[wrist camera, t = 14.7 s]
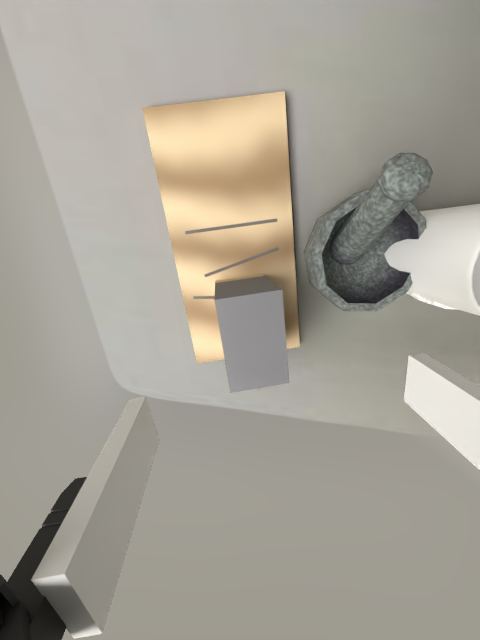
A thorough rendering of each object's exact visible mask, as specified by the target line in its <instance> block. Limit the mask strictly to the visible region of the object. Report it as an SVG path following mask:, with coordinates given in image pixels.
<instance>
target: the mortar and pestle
mask: <svg viewBox="0 0 480 640" xmlns="http://www.w3.org/2000/svg"><path fill="white" fill-rule="evenodd" d="M432 173H433V171H432V169H431V167H430V165H429V163H428V161H427V160H426V159H424V158H422V157H421V156H419V155H417V154H415V153H399V154H397V155H396V156H394V157H393V158H392V159H390V160H389V161H387V162H386V163H385V164H384V166H383V167H382V169H381V173H380V176H379V179H378V181H377V183H376V184H375V185H374V186H373V188H372V189H371V190H370V191H366V190H365V191H361V192H358V193H355V194H354V195H352V196H351V197H349V198H348V199H346V200H345V201H343V202H342V203H340V204H339V205H337V206H336V207H335V208H333V209H332V210H330V211H329V212H327V213H326V214H324V215H323V216H322V217H320V218H319V219H317V222H316V224H315V226H314V229H313V231H312V233H311V236H310V238H309V241H308V243H307V245H306V248H305V250H304V256H305V261H306V266H307V272H308V277H309V282H310V284H311V285H312V286H313V287H314V288H315V289H316V290H318V291H319V292H320V293H321V294H322V295H323V296H325V297H326V298H327V299H328V300H329V301H331V302H332V303H333V304H334V305H335V306H337V307H338V308H340V309H342V310H343V311H378V310H379V309H381V308H383V307H384V306H386V305H387V304H389V303H390V302H392V301H394V300H395V299H397V298H398V297H400V296H402V295H403V294H405V293H406V292H408V290H409V289H410V287H411V285H412V283H413V282H412V279H411V273H409V272H404V271H399V270H397V269H395V268H393V267H391V266H390V265H389V264H388V262H387V260H386V258H385V255H384V254H385V252H386V251H387V250H388V248H389V247H390V246H391V245H393V244H394V243H396V242H399V241H402V240H405V239H419V238H420V236H421V235H422V233H423V232H424V230H425V229H426V219H425V217H424V216H423V215H422V214H421V213H420V212H419V211H418V209H417V208H416V207H415V206H414V205H413V204H412V203H411V200H413V199H415V198H416V197H417V196H419V195H420V194H422V193H423V192H424V191H425V190H426V189H427V188H428V187H429V185H430V181H431V177H432Z"/></svg>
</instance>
